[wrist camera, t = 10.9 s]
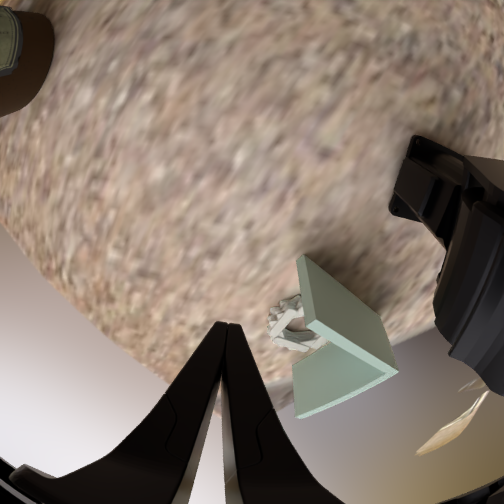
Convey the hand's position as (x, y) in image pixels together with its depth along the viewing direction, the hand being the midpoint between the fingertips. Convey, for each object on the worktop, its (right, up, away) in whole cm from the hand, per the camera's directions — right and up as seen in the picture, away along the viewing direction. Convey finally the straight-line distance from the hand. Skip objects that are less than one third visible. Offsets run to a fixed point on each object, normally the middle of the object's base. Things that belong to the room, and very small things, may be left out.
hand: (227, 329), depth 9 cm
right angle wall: (+6, -4, +18) cm, 19 cm away
